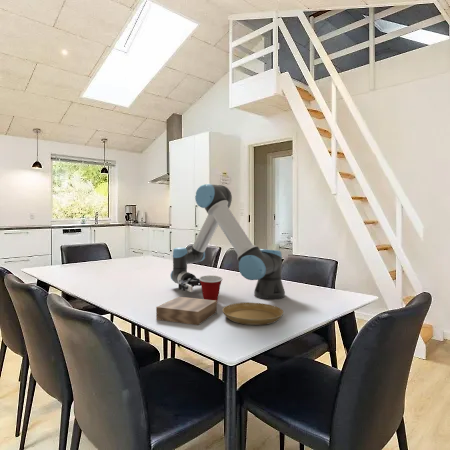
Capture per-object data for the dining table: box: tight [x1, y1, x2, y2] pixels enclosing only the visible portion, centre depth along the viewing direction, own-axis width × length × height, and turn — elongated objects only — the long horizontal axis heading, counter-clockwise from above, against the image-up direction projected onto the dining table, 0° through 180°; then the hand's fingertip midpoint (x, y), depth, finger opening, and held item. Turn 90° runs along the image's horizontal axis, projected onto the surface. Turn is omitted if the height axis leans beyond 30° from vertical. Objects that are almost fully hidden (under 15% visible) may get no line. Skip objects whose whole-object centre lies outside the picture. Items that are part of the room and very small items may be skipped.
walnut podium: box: [155, 296, 218, 326], centre depth 148 cm, size 18×18×5 cm
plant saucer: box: [222, 302, 284, 326], centre depth 146 cm, size 24×24×3 cm
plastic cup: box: [198, 274, 224, 302], centre depth 167 cm, size 11×11×12 cm
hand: (205, 287), depth 171 cm, fingers open, 13 cm apart
